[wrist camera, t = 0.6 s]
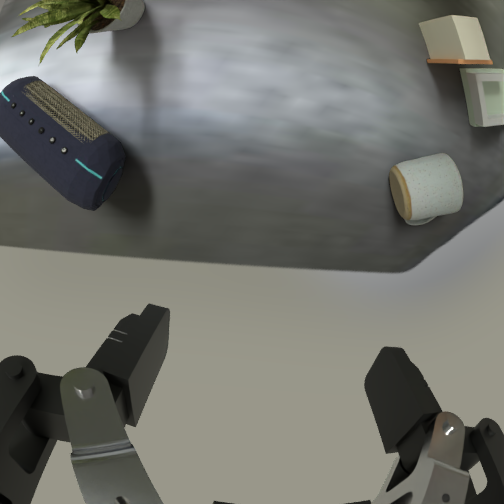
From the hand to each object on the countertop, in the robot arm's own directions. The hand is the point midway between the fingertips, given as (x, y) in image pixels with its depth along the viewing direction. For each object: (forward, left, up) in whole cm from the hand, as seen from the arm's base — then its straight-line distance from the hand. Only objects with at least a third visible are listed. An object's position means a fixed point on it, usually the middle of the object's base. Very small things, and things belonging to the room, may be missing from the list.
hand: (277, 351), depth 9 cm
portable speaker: (-16, -26, -28) cm, 41 cm away
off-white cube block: (-10, +24, -28) cm, 38 cm away
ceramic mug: (+10, +16, -28) cm, 34 cm away
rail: (-2, +38, -28) cm, 47 cm away
